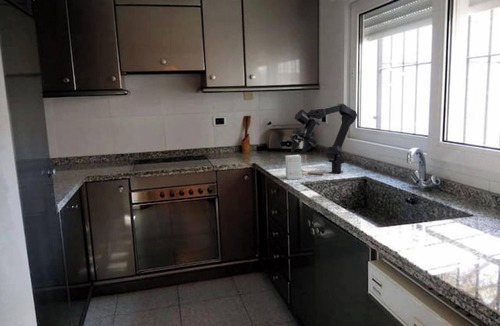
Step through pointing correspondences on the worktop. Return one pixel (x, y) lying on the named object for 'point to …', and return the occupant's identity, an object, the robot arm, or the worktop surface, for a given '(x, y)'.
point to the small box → (293, 167)
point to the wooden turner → (311, 173)
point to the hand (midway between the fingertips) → (296, 153)
